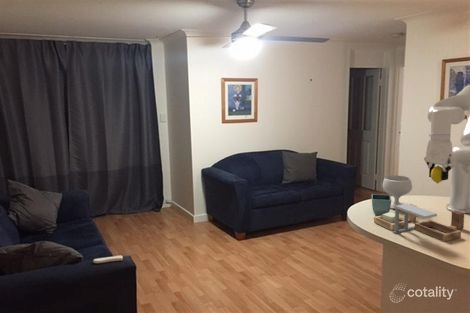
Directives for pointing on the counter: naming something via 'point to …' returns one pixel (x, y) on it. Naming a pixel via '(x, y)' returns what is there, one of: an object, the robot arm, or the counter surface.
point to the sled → (392, 226)
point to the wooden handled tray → (443, 227)
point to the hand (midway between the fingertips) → (438, 177)
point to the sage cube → (389, 217)
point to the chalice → (397, 187)
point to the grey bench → (408, 209)
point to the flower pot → (381, 204)
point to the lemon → (437, 174)
